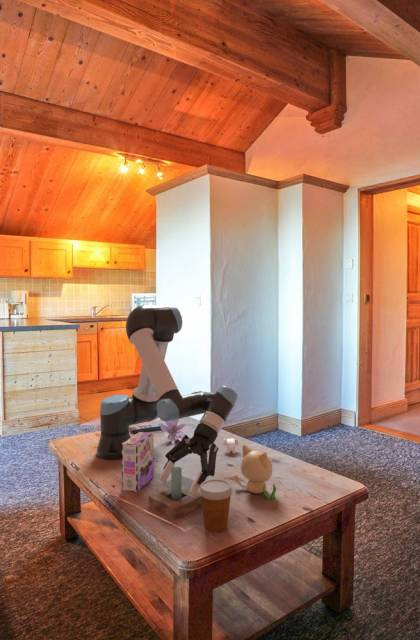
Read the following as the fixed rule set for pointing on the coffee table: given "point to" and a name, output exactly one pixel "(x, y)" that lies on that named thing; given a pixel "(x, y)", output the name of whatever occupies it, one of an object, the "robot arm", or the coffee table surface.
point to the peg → (176, 483)
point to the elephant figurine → (230, 444)
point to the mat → (185, 483)
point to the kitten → (255, 471)
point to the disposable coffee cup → (215, 504)
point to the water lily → (174, 430)
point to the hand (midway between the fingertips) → (176, 487)
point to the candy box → (137, 461)
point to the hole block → (175, 502)
